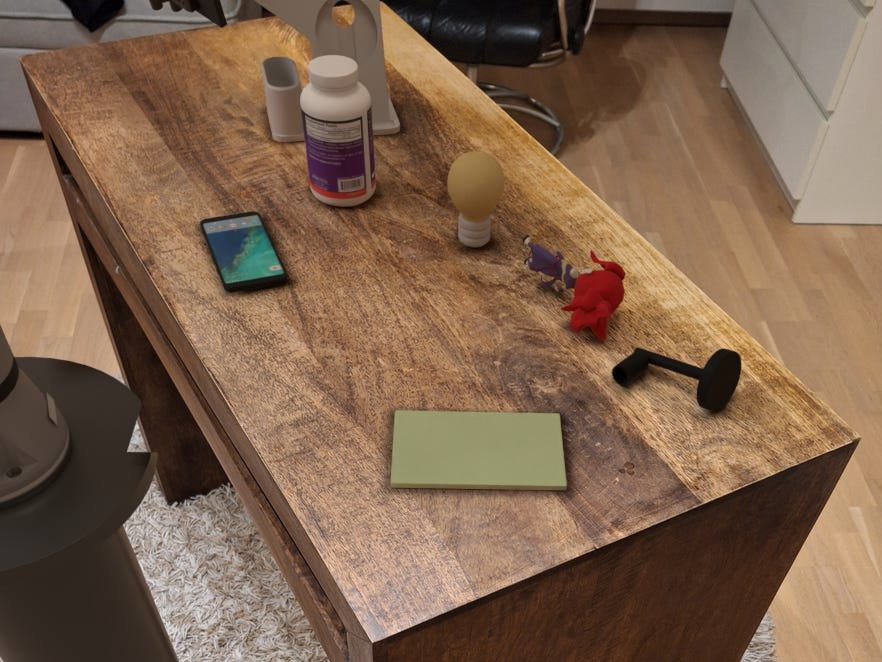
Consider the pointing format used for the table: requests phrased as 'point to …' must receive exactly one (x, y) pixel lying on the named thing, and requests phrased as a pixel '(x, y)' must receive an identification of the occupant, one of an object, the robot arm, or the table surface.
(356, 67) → the pill bottle
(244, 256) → the smartphone
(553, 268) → the figurine
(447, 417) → the mat
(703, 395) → the light fixture
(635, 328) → the table surface
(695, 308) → the table surface
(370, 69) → the phone holder
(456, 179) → the light bulb
